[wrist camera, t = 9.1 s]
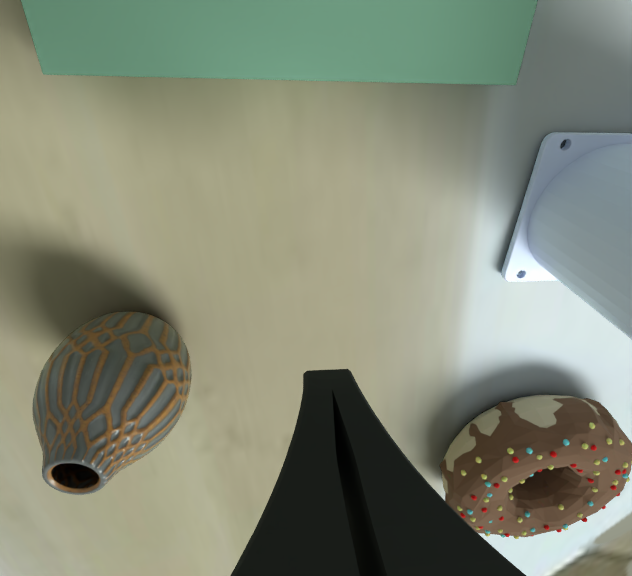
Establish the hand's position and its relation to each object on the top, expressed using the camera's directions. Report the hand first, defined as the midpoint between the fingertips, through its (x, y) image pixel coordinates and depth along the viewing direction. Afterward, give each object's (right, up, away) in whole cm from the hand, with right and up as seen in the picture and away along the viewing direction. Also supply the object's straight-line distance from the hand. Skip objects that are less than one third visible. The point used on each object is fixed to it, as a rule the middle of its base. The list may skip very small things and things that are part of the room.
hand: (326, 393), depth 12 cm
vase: (-11, 0, +11) cm, 16 cm away
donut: (+16, -9, +20) cm, 27 cm away
